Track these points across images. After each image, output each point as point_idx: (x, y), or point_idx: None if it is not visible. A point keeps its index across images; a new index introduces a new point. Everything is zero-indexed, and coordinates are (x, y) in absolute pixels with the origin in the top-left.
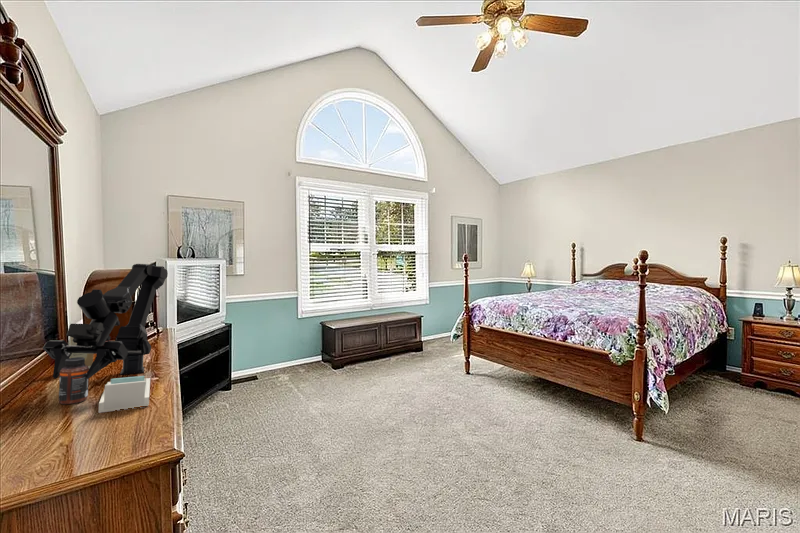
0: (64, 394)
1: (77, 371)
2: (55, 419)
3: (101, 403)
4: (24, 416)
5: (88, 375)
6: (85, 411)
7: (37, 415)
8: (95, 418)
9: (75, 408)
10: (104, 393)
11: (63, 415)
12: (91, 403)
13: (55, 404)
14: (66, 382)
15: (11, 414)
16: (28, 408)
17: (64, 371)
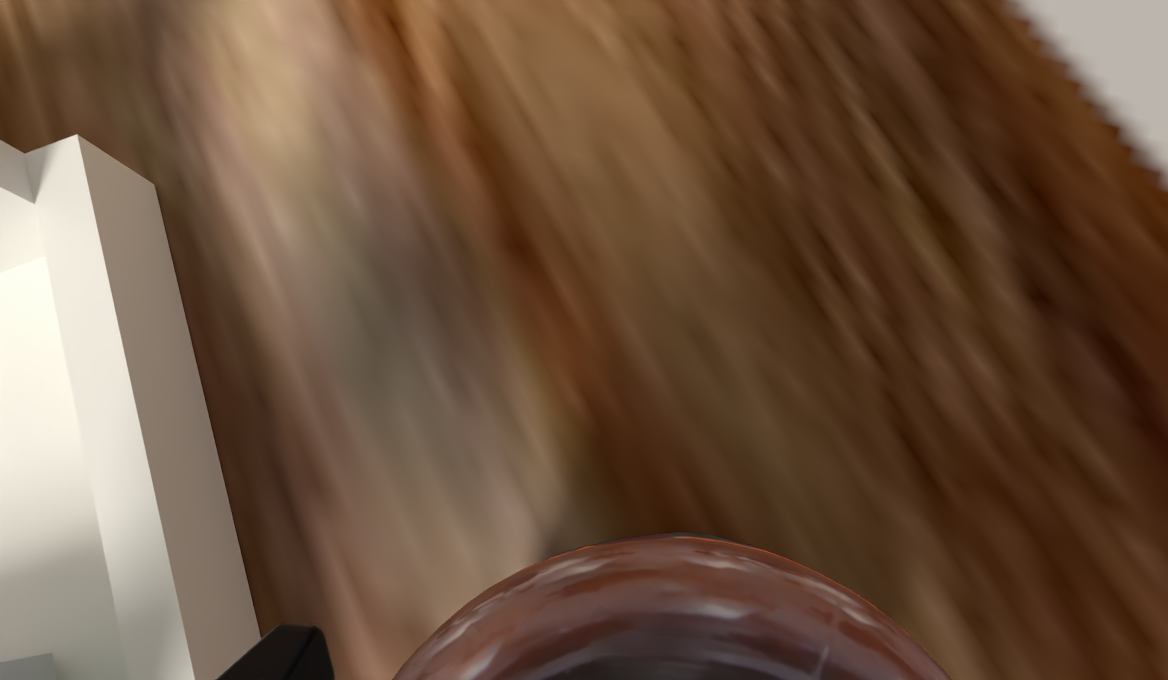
0: (711, 535)
1: (458, 621)
2: (517, 24)
3: (55, 145)
4: (932, 143)
5: (260, 656)
6: (318, 252)
7: (799, 164)
8: (126, 23)
9: (487, 378)
10: (154, 590)
11: (499, 139)
12: (378, 569)
13: None
14: (689, 534)
15: (1154, 228)
16: (1111, 449)
17: (776, 565)
